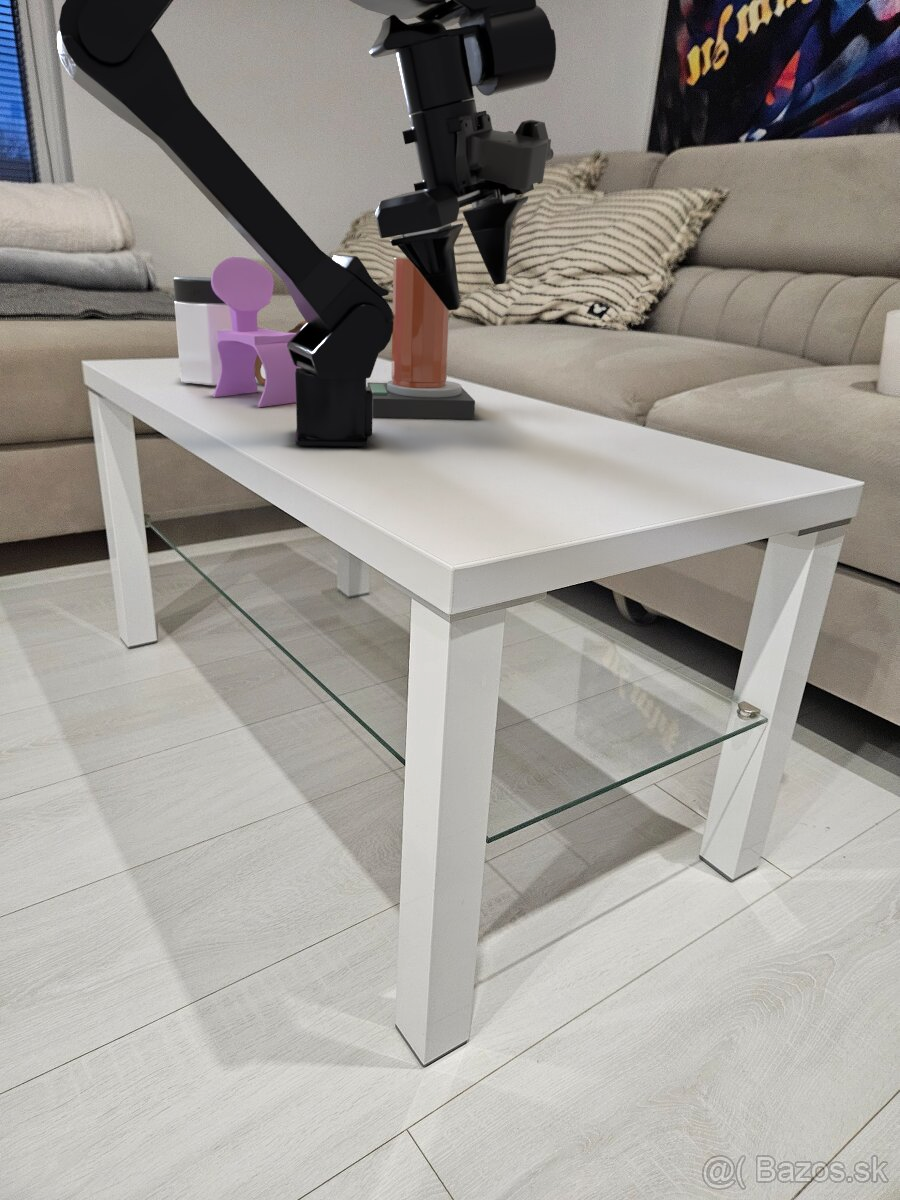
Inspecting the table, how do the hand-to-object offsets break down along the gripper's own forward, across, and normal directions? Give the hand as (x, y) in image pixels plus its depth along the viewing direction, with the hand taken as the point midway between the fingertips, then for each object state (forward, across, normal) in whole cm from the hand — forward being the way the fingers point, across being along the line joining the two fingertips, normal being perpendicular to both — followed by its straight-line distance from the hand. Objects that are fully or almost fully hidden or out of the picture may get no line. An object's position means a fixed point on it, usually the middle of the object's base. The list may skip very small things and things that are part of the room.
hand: (478, 296), depth 77 cm
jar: (+7, +2, +42) cm, 42 cm away
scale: (+12, +5, +13) cm, 19 cm away
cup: (+10, +5, +13) cm, 17 cm away
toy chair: (+8, -3, +30) cm, 31 cm away
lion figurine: (+10, +9, +36) cm, 38 cm away
